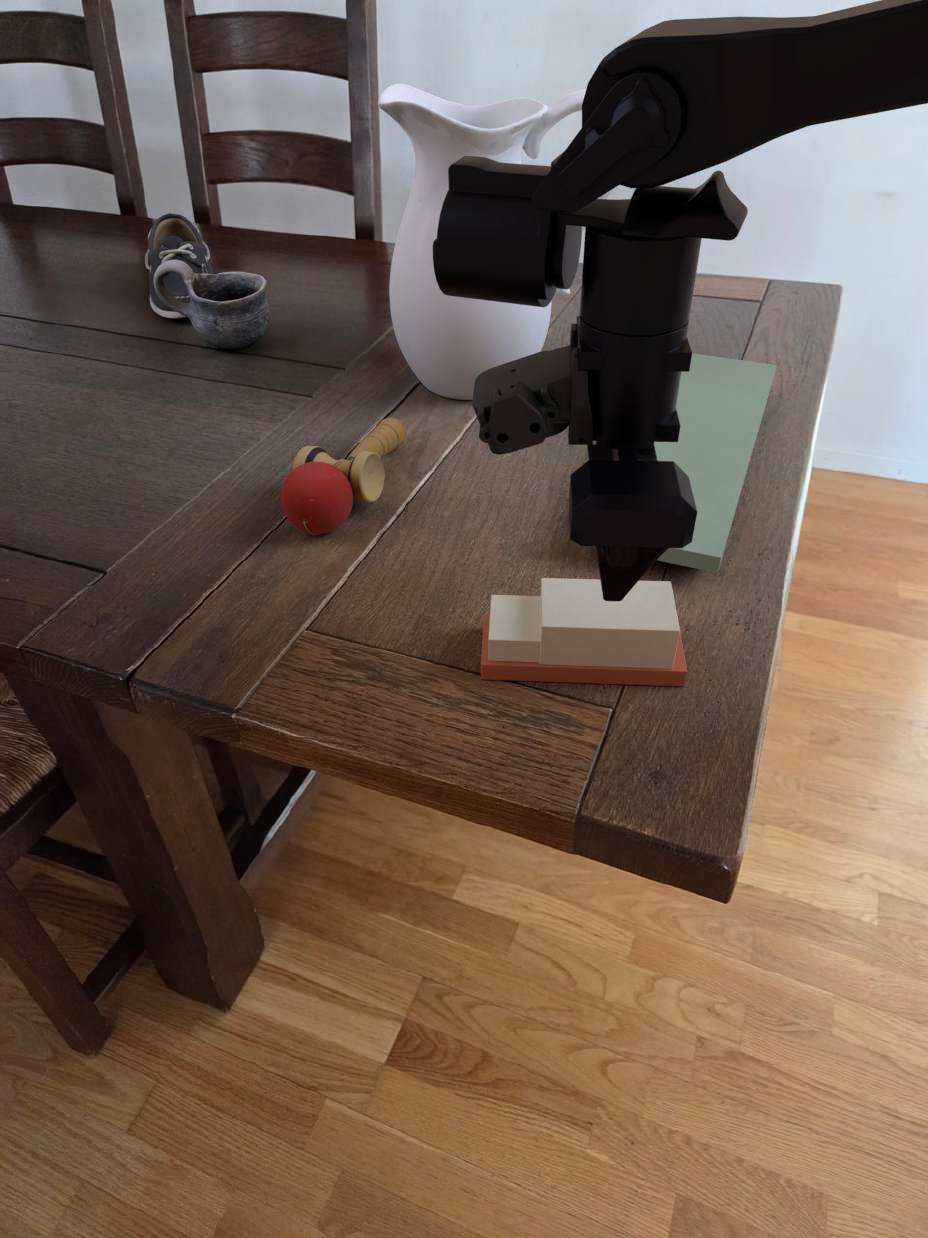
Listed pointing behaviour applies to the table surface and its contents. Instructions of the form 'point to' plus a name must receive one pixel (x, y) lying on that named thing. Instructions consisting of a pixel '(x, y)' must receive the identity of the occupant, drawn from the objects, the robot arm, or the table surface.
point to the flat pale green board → (715, 447)
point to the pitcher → (421, 314)
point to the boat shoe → (174, 258)
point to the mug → (219, 304)
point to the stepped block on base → (585, 635)
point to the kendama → (337, 480)
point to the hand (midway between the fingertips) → (607, 554)
